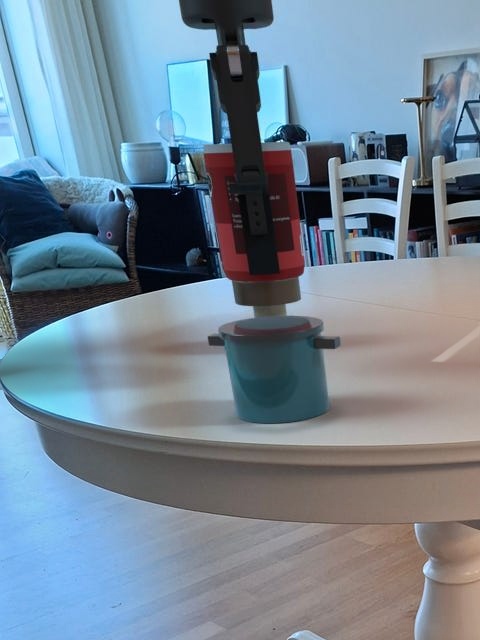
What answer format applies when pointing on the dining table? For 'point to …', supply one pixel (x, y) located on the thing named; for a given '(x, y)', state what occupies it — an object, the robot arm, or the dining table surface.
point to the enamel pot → (276, 367)
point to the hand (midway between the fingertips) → (264, 268)
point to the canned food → (229, 216)
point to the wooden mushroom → (267, 295)
